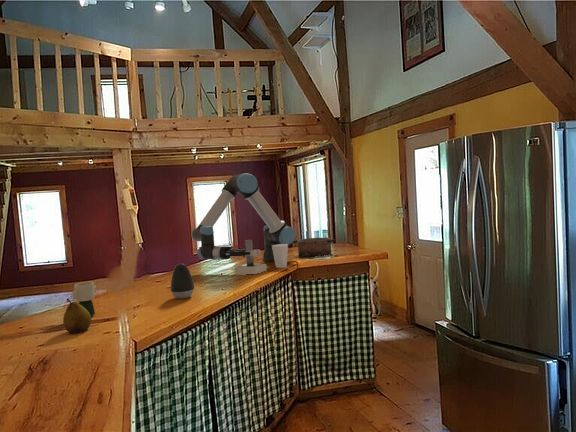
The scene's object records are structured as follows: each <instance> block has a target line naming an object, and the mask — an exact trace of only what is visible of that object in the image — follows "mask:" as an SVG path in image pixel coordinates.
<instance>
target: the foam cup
mask: <svg viewBox="0 0 576 432" xmlns="http://www.w3.org/2000/svg"><path fill="white" fill-rule="evenodd" d="M272 250H273V255H274V260H275V261H274V264H275V268H277V269H284V268H287V266H288V250H289V245H288V244H277V245H272Z"/></svg>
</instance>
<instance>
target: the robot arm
mask: <svg viewBox="0 0 576 432" xmlns="http://www.w3.org/2000/svg"><path fill="white" fill-rule="evenodd" d="M239 194H240V196H241V197H242V198H243V200H247V201H248V202H249V204H250V205H251V206H252V207H253V209H255V211H256V213H257V214H258V215H259V217H260V218H261V219H262V221H263V222H264V223H265V224H266V225H264V226H263V232H262V233H263V239H264V240H263V241H264V243H263V244H264V251H263V255H262V260H263V261H265V262H275V260H274V255H273V250H272V245H277V244H288V246H289V245H291V244H292V243H293V241H295V240H296V239H295V238H296V232H295V229H294V228H293V227H291V226H288V225H287V223H286V221H285V220H281V219H280V217H279V216H278V215H277V214H276V212H275V211H274V210H273V209H272V207H271V206H270V204H269V203H268V202H267V200H266V199H265V198H264V196H263V195H262V194H261V192H260V187H259V186H258V180H257V178H256V176H254V175H253V174H251V173H246V172H244V173H239V174H234V175H232V176H231V177H230V178H229V179H228V181H227V182H226V183H225V184H224V186H223V188H222V189H221V193H220V194H219V196H218V197H217V199H216V200H215V202H214V203H213V205H212V206H211V207H210V208H209V210H208V211H207V213H206V214H205V216H204V217H203V219H202V220H201V222H200V223H199V225H197V227H196V228H195V229H193V230H191V233H190V237H191V239H192V240H194V241H196V242H201V243H200V245H201V246H199V247H198V249H197V257H198V258H199V259H200V260H217V261H221V260H230V259H231V258H232V257H243V258H246V256H253V257H255V256H257V255H261V249H258V248H257V249H253V251H246V248H242V249H241V248H232V249H231V247H230V246H228V245H220V246H218V245H215V235H214V233H215V231H214V225H216V223H217V221H218V220H219V218H220V217H221V216H222V214H223V213H224V212H225V210H226V208H227V207H228V206H229V204H230V203H231V201H232V200H235V199H236V197H237V196H238V195H239Z"/></svg>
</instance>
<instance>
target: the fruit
mask: <svg viewBox="0 0 576 432" xmlns="http://www.w3.org/2000/svg"><path fill="white" fill-rule="evenodd" d="M66 301H68V302H69V303H68V306H67V307H66V309H65V312H64V314H63V321H62V322H63V327H64V330H65V331H66V332H68V333H70V334H79V333H83V332H85V331H87V330H88V329H89V328H90V326H91V325H92V324H91V323H92V316H91V315H90V313H89V312H88V311H87V310H86V309H85V308H84V307H83V306H82V305H80V304H79V302H78V301H72V302H71V300H70V299H69V298H66Z"/></svg>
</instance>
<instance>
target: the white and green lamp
mask: <svg viewBox="0 0 576 432" xmlns="http://www.w3.org/2000/svg"><path fill="white" fill-rule="evenodd" d="M73 289H74V290H73V291H72V292H71V295H72V300H75V302H78V303H79V304H80V305H82V306H83V307H84V308H85V309H86V310H87V311H88V312H89V313H90V315H91V317H92V316H94V315H95V314H96V312H95V311H96V310H95V307H94V302H93V300H94V299H95V298H96V297H95V296H96V294H97V286H96V285H95V284H94V282H93V281H91V282H89V281H86V282H85V281H84V282H79V283H75V284H74V286H73Z"/></svg>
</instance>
